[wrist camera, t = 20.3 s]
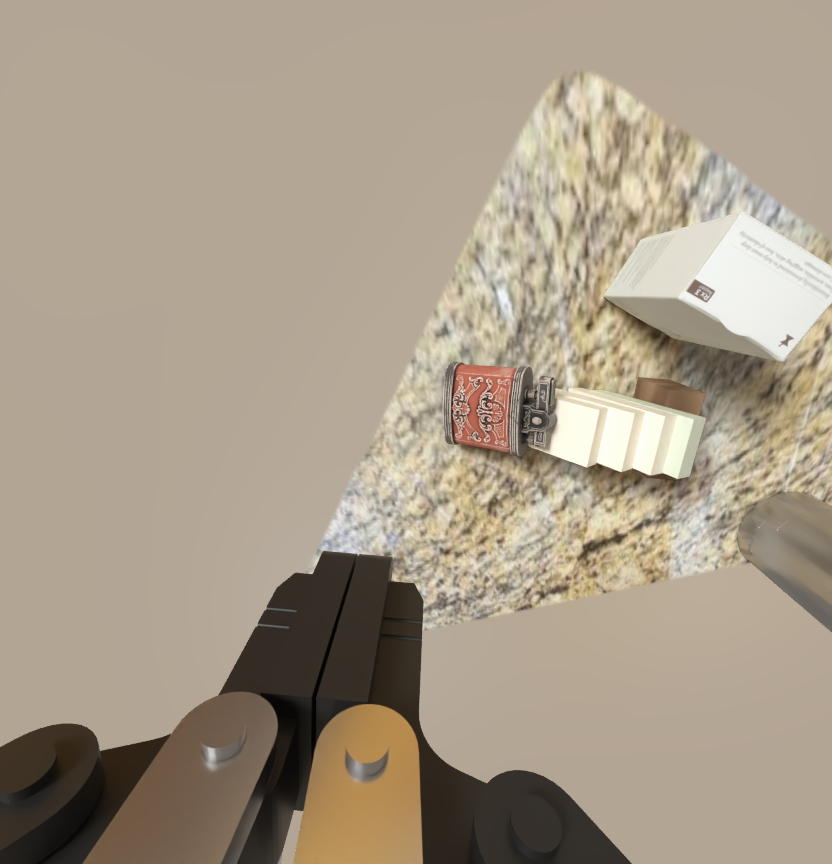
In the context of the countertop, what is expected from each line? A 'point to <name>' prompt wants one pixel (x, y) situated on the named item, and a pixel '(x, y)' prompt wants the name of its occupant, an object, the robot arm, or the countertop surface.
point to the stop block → (669, 401)
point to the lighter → (497, 407)
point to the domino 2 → (615, 432)
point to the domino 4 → (676, 437)
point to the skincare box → (726, 286)
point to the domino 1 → (575, 431)
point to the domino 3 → (645, 433)
